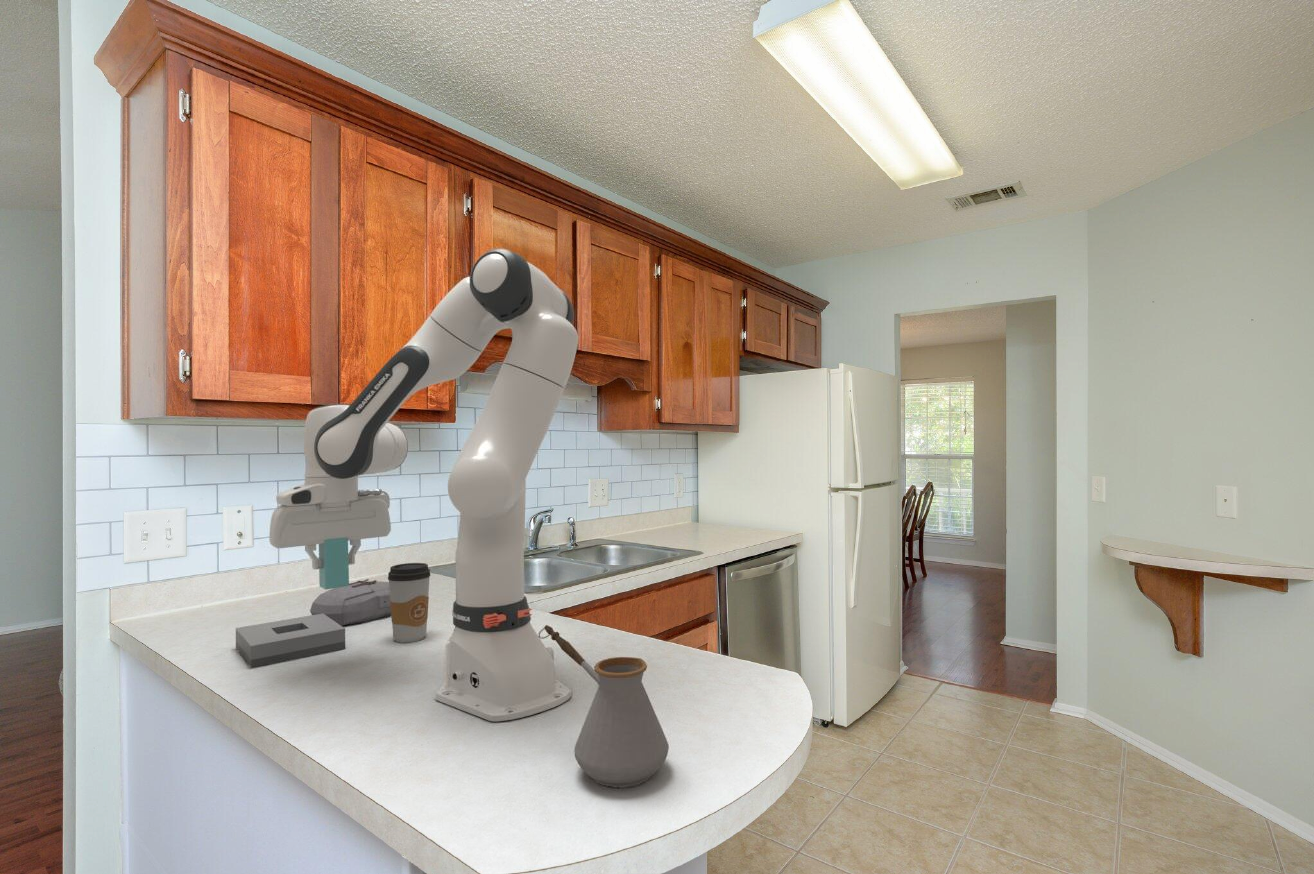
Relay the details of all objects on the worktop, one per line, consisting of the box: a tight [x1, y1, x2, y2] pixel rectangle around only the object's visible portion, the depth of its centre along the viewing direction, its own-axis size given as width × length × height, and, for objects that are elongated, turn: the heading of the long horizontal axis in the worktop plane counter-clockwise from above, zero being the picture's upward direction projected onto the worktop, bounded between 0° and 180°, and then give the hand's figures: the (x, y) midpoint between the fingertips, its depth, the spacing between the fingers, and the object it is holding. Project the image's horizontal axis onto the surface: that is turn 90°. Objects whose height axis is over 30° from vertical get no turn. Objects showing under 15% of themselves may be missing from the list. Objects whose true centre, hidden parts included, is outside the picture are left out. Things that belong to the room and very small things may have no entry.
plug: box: [318, 537, 350, 590], centre depth 120 cm, size 4×4×9 cm
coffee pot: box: [538, 624, 670, 789], centre depth 82 cm, size 21×12×15 cm, turn 46°
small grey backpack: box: [309, 578, 391, 626], centre depth 151 cm, size 15×8×20 cm
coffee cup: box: [387, 562, 431, 644], centre depth 134 cm, size 8×8×15 cm
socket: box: [235, 613, 346, 669], centre depth 128 cm, size 16×16×4 cm
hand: (333, 566), depth 120 cm, fingers closed on plug, 4 cm apart
